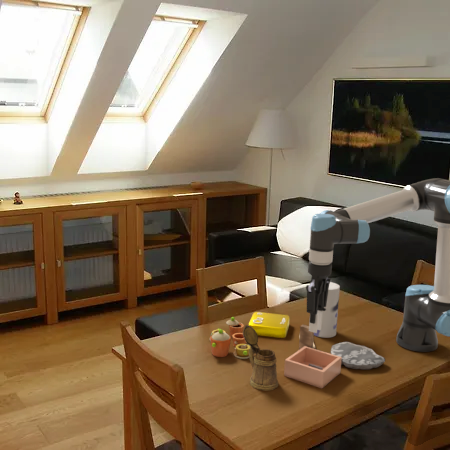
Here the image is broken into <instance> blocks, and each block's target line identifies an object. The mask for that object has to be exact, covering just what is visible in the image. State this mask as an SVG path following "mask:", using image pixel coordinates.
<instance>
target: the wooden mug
mask: <svg viewBox="0 0 450 450" xmlns="http://www.w3.org/2000/svg"><path fill="white" fill-rule="evenodd" d="M242 333H243V336H244V339H245V341H246V344H247V345H249V346H250V349H249V358H248V359H249V362H250V364H251V367H252V373H251V376H250V379H249V385H250V386H251V387H252V388H255V389H257V390H258V391H259V390H260V391H273V390H275V389H277V388H278V387H279V381H278V372H277V364H276V363H277V357H276V352H275V351H273V350H271V349H261V348H260V347H259V345H258V342H259V335H257V333H256V331H255V330H254V329H253V328H252V327H251V326H249V324H245V325H244V327H243V332H242Z"/></svg>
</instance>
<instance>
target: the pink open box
mask: <svg viewBox="0 0 450 450" xmlns="http://www.w3.org/2000/svg"><path fill="white" fill-rule="evenodd" d="M341 360H342V357H340V356H336V355H333V354H331V352H326V351H322V350H320V349H317V348H315V349H313V348H310V347H306V346H304V347H303V348H301V349H300V350H299V349H298V350H297V351H296V352H294V353H293V354H291V355H290V356H289V357H287V358H285V359H284V371H283V372H284V373H283V376H284V377H286V378H289V379H292V380H295V381H298V382H302V383H305V384H308V385H310V386H312V387H317V388H319V389H323V388H325V386H327V385H328V384H329V383H331V381H333V380H334V379H335V378H336V377H337V376H338V375H340V374H341V371H342V370H341V368H342V364H341Z"/></svg>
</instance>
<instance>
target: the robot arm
mask: <svg viewBox="0 0 450 450" xmlns="http://www.w3.org/2000/svg"><path fill="white" fill-rule="evenodd" d="M421 210H427V211H432V212H433V213H434V214H433V222H434V223H435V224H436V225H437V239H436V253H435V267H434V270H435V271H434V279H433V280H434V282H433V283H434V284H433V285H429V284H412V285H410V286H408V287H407V288H406V292H405V295H404V296H405V298H404V308H403V317H402V318H403V319H402V323H401V325H400V327H399V329H398V331H397V334H396V338H395V339H396V340H395V341H396V343H397V345H398V346H400V347H401V348H404V349H406V350H409V351H414V352H419V353H420V352H421V353H427V352H434V351H436V350H437V349H438V346H439V340H438V335H437V333H438V334H440V335H442V336H446V337H450V179H444V178H439V177H437V178H435V177H434V178H429V179H425V180H421V181H417V182H415V183H412V184H408V185H406V186H404V187H403V189H402V190H399V191H395V192H392V193H388V194H386V195H382V196H379V197H376V198H373V199H370V200H367V201H364V202H360V203H357V204H355V205H350V206H348V207H344V208H341V209H338V210H329V209H328V210H326V209H325V210H323V211H321V212H319V213H315V214H314V215H313V216H312V217H311V224H310V238H309V239H310V240H309V250H308V260H309V262H308V263H307V265H308V266H307V273H309V275H310V276H311V278H310V284H307V285H306V286H305V290H306V313H308V314H309V321H308V326H309V331H311V332H314V333H317V330H321V325H322V312H323V311H325V310H326V309H325V308H324V307H326V304H327V297H328V289H329V284H330V282H331V280H332V279H331V277H329V276H331V275H332V269H333V264H332V263H333V259H334V258H333V257H334V256H333V255H334V246H335V245H338V244H341V245H342V244H347V245H348V244H363V243H365V242H368V240H369V238H370V235H371V228H370V225H369V223H372V222H373V223H374V222H377V221H379V220H383V219H386V218H389V217H392V216H395V215H398V214H402V213H405V212H408V211H410V212H417V211H421Z"/></svg>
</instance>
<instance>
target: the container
mask: <svg viewBox="0 0 450 450" xmlns="http://www.w3.org/2000/svg"><path fill="white" fill-rule="evenodd" d="M340 287H341V286H340V285H339V284H338V283H335V282H332V281H330V284H329V289H328V297H327V304H326V307H324V308H325V309H326V310H325V311H323V312H322V325H321V330H317V333H314V336H315V337H318V338H327V339H329V338H334V337H335V336H336V335H337V327H338V316H339V315H338V314H339V313H338V312H339V300H340V289H341V288H340Z"/></svg>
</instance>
